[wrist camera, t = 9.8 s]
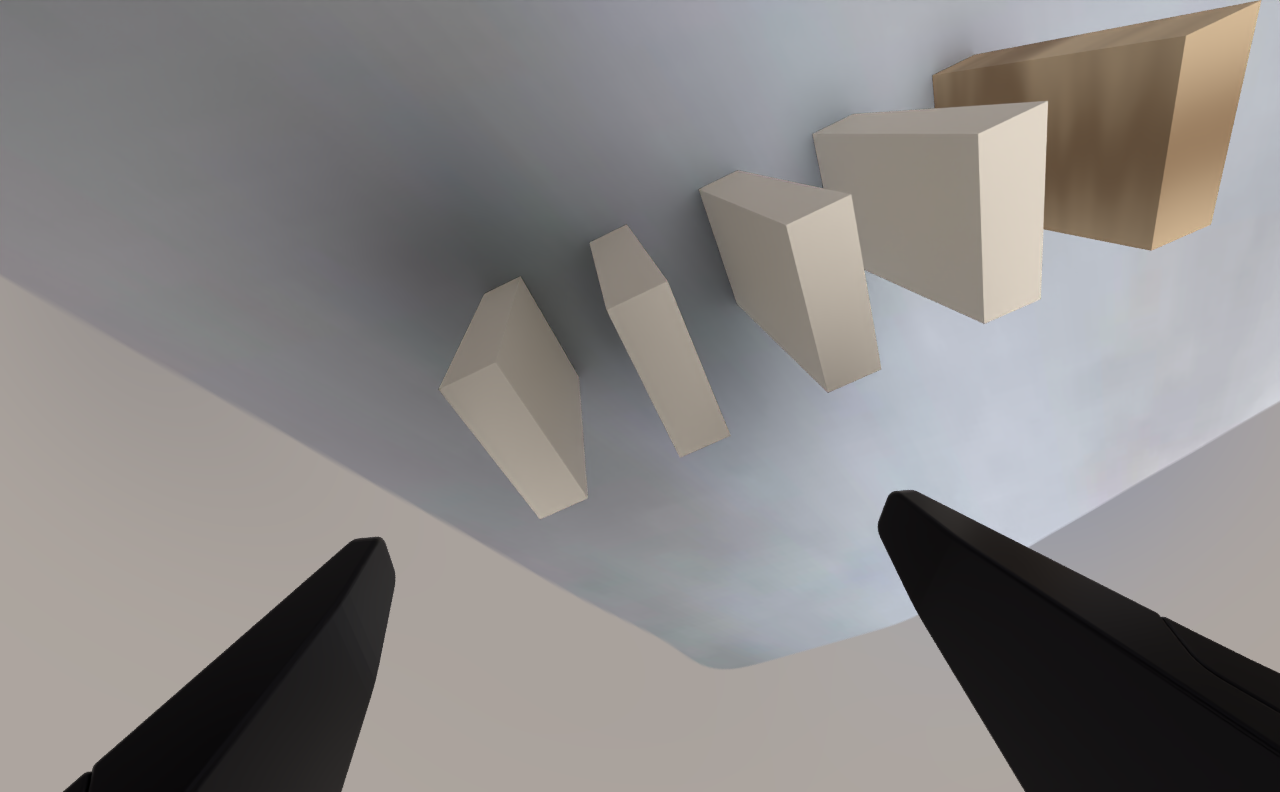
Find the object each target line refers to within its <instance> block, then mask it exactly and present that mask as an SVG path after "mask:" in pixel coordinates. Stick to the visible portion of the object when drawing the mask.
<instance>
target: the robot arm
mask: <svg viewBox="0 0 1280 792" xmlns="http://www.w3.org/2000/svg"><path fill="white" fill-rule="evenodd" d="M878 532H879V535H880V538H881V540H882V542H883V544H884V546H885V548H886V550H887V552H888V554H889V556H890V558H891V560H892V563H893V565H894V567H895V569H896V571H897V573H898V575H899V577H900V579H901V581H902V583H903V585H904V587H905V589H906V591H907V594H908V596H909V598H910V600H911V602H912V603H913V605H914V607H915V609H916V611H917V613H918V615H919V616H920V618H921V620H922V622H923V623H924V625H925V627H926V628H927V630H928V632H929V633H930V635H931V637H932V638H933V640H934V642H935V643H936V645H937V647H938V648H939V650H940V651H941V653H942V655H943V657H944V658H945V660H946V661H947V663H948V665H949V666H950V668H951V670H952V672H953V673H954V675H955V676H956V678H957V680H958V681H959V683H960V685H961V686H962V688H963V690H964V691H965V693H966V695H967V696H968V698H969V700H970V701H971V703H972V705H973V706H974V708H975V710H976V711H977V713H978V715H979V716H980V718H981V719H982V721H983V723H984V724H985V726H986V728H987V730H988V731H989V733H990V734H991V736H992V738H993V739H994V741H995V743H996V744H997V746H998V748H999V749H1000V751H1001V752H1002V754H1003V756H1004V758H1005V759H1006V761H1007V762H1008V764H1009V766H1010V768H1011V769H1012V771H1013V773H1014V774H1015V776H1016V778H1017V779H1018V781H1019V783H1020V784H1021V786H1022V787H1023V789H1024V791H1025V792H1280V673H1278V672H1276V671H1274V670H1272V669H1270V668H1267V667H1265V666H1263V665H1261V664H1259V663H1257V662H1255V661H1253V660H1250V659H1248V658H1246V657H1244V656H1242V655H1240V654H1238V653H1236V652H1234V651H1232V650H1230V649H1228V648H1226V647H1224V646H1222V645H1220V644H1218V643H1216V642H1214V641H1212V640H1210V639H1208V638H1206V637H1204V636H1202V635H1200V634H1198V633H1196V632H1194V631H1192V630H1190V629H1188V628H1186V627H1184V626H1182V625H1180V624H1178V623H1176V622H1174V621H1172V620H1170V619H1168V618H1166V617H1160V615H1159V614H1158V613H1156V612H1154V611H1152V610H1150V609H1148V608H1146V607H1144V606H1142V605H1140V604H1138V603H1136V602H1135V601H1133V600H1131V599H1129V598H1127V597H1124V596H1123V595H1121V594H1119V593H1117V592H1115V591H1113V590H1111V589H1109V588H1107V587H1105V586H1103V585H1101V584H1099V583H1097V582H1095V581H1093V580H1091V579H1089V578H1087V577H1085V576H1083V575H1081V574H1079V573H1077V572H1075V571H1073V570H1071V569H1069V568H1067V567H1065V566H1063V565H1061V564H1059V563H1057V562H1055V561H1053V560H1051V559H1049V558H1048V557H1046V556H1044V555H1042V554H1040V553H1038V552H1036V551H1034V550H1032V549H1030V548H1028V547H1026V546H1024V545H1022V544H1020V543H1018V542H1016V541H1014V540H1012V539H1010V538H1008V537H1006V536H1004V535H1002V534H1000V533H998V532H996V531H994V530H992V529H990V528H988V527H986V526H984V525H982V524H980V523H978V522H976V521H974V520H972V519H971V518H969V517H967V516H965V515H963V514H961V513H959V512H957V511H955V510H953V509H951V508H949V507H947V506H945V505H943V504H941V503H939V502H937V501H935V500H933V499H931V498H929V497H927V496H925V495H923V494H921V493H919V492H917V491H914V490H902V491H894V492H892V493H890V494H889V496H888V497H887V500H886V503H885V505H884V508H883V511H882V513H881V516H880V519H879V521H878ZM394 587H395V571H394V567H393V564H392V561H391V558H390V555H389V552H388V549H387V546H386V544H385V541H384V540H383V539H382V538H381V537H369V538H359V539H354V540H353V541H351V542H349V543H348V544H347V545H346V546H345V547H344V548H342V549H341V550H340V551H339V552H338V553H337V554H336V555H335V556H333V557H332V558H331V559H330V560H329V561H328V562H326V563H325V564H324V565H323V566H322V567H321V568H319V569H318V570H317V571H316V572H315V573H314V574H313V575H311V576H310V577H309V578H308V579H307V580H306V581H305V582H303V583H302V584H301V585H300V586H299V587H298V588H296V589H295V590H294V591H293V592H292V593H291V594H290V595H288V596H287V597H286V598H285V599H284V600H283V601H282V602H280V604H278V605H277V606H276V607H275V608H274V609H272V610H271V611H270V612H269V613H268V614H267V615H266V616H264V617H263V618H262V619H261V620H260V621H259V622H257V623H256V624H255V625H254V626H253V627H252V628H251V629H250V630H249V631H247V632H246V633H245V634H244V635H243V636H241V637H240V638H239V639H238V640H237V641H236V642H235V643H233V644H232V645H231V646H230V647H229V648H228V649H226V650H225V651H224V652H223V653H222V654H221V655H220V656H219V657H217V658H216V659H215V660H214V661H213V662H212V663H210V664H209V665H208V666H207V667H206V668H205V669H204V670H202V671H201V672H200V673H199V674H198V675H197V676H196V677H194V678H193V679H192V680H191V681H190V682H189V683H187V684H186V685H185V686H184V687H183V688H182V689H181V690H179V691H178V692H177V693H176V694H175V695H174V696H173V697H171V698H170V699H169V700H168V701H167V702H166V703H165V704H163V705H162V706H161V707H160V708H159V709H158V710H156V711H155V712H154V713H153V714H152V715H151V716H150V717H148V718H147V719H146V720H145V721H144V722H143V723H142V724H140V725H139V726H138V727H137V728H136V729H135V730H134V731H132V732H131V733H130V734H129V735H128V736H127V737H125V738H124V739H123V740H122V741H121V742H120V743H119V744H117V745H116V746H115V747H114V748H113V749H112V750H111V751H109V752H108V753H107V754H106V755H105V756H104V757H103V758H101V759H100V760H99V761H98V762H97V763H96V764H95V765H94V766H93V769H92V772H86V773H84V774H83V775H82V776H80V777H79V778H78V779H77V780H76V781H75V782H74V783H72V784H71V785H70V786H69V787H68V788H67V789H65V790H64V791H63V792H341V791H342V788H343V785H344V781H345V778H346V775H347V772H348V769H349V766H350V762H351V759H352V756H353V753H354V750H355V746H356V743H357V740H358V737H359V734H360V730H361V727H362V724H363V721H364V717H365V714H366V711H367V708H368V705H369V702H370V698H371V695H372V691H373V688H374V684H375V681H376V676H377V671H378V667H379V663H380V657H381V653H382V648H383V643H384V638H385V632H386V628H387V623H388V617H389V612H390V607H391V602H392V597H393V592H394Z"/></svg>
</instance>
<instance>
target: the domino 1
mask: <svg viewBox="0 0 1280 792" xmlns="http://www.w3.org/2000/svg"><path fill="white" fill-rule="evenodd" d="M439 391H440V392H441V393H442V395H443V396H444V397H445V398H446V400H447V401H448V402H449V404H450V405H451V406H452V407H453V409H454V410H455V411H456V413H457V414H458V415H459V416H460V418H461V419H462V420H463V421H464V423H465V424H466V425H467V427H468V428H469V429H470V430H471V432H472V433H473V434H474V436H475V437H476V438H477V439H478V441H479V442H480V443H481V444H482V446H483V447H484V448H485V450H486V451H487V452H488V453H489V455H490V456H491V457H492V459H493V460H494V461H495V462H496V464H497V465H498V466H499V468H500V469H501V470H502V471H503V473H504V474H505V475H506V476H507V478H508V479H509V480H510V482H511V483H512V484H513V485H514V487H515V488H516V489H517V491H518V492H519V493H520V494H521V496H522V497H523V498H524V500H525V501H526V502H527V503H528V505H529V506H530V507H531V508H532V510H533V511H534V512H535V514H536V515H537V516H538V517H539V519H542V518H544V517H547V516H549V515H551V514H553V513H556V512H558V511H560V510H562V509H565V508H567V507H569V506H572V505H574V504H576V503H578V502H581V501H583V500H585V499H587V498H588V492H587V478H586V465H585V451H584V438H583V424H582V410H581V397H580V383H579V376H578V375H577V373H576V371H575V369H574V368H573V366H572V364H571V363H570V361H569V359H568V357H567V356H566V354H565V352H564V351H563V349H562V347H561V345H560V344H559V342H558V340H557V338H556V337H555V335H554V333H553V332H552V330H551V328H550V326H549V325H548V323H547V321H546V319H545V318H544V316H543V314H542V313H541V311H540V309H539V307H538V306H537V304H536V302H535V300H534V299H533V297H532V295H531V294H530V292H529V290H528V288H527V287H526V285H525V283H524V282H523V280H522V278H521V276H520V277H518V278H516V279H514V280H511V281H509V282H507V283H505V284H503V285H501V286H499V287H497V288H495V289H493V290H491V291H489V292H487V293H485V294H484V296H483V298H482V300H481V302H480V304H479V306H478V308H477V310H476V312H475V314H474V316H473V318H472V321H471V323H470V325H469V327H468V329H467V331H466V333H465V335H464V337H463V339H462V341H461V343H460V346H459V348H458V350H457V352H456V354H455V356H454V358H453V360H452V362H451V364H450V366H449V369H448V371H447V373H446V375H445V377H444V379H443V381H442V383H441V385H440V387H439Z"/></svg>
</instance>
